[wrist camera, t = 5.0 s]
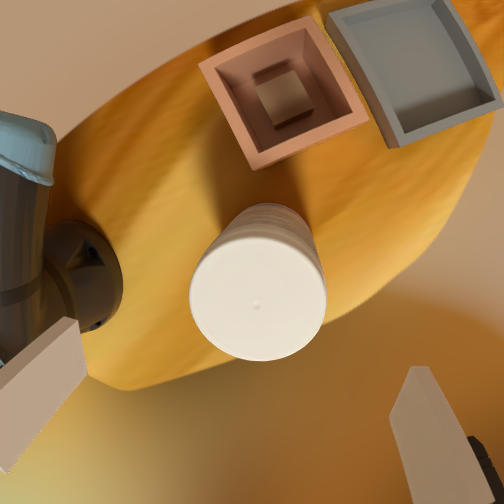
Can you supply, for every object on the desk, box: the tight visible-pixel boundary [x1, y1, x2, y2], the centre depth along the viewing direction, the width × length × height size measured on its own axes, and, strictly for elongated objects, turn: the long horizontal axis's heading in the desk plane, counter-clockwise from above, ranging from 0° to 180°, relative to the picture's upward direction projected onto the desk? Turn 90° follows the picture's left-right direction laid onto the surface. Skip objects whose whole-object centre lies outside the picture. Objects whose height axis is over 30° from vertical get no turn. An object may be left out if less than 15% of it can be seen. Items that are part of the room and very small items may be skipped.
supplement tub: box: [189, 203, 327, 361], centre depth 28 cm, size 10×10×15 cm
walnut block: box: [254, 70, 315, 130], centre depth 28 cm, size 4×4×4 cm
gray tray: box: [325, 0, 504, 149], centre depth 25 cm, size 15×15×4 cm
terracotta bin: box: [198, 15, 370, 171], centre depth 26 cm, size 10×10×9 cm
